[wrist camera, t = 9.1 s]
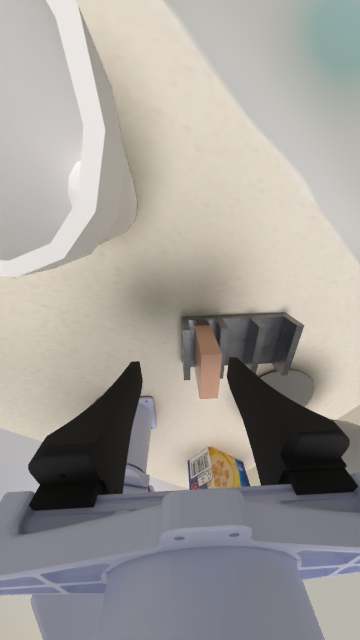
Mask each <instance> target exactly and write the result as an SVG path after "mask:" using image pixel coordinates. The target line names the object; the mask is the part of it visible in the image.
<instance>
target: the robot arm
mask: <svg viewBox="0 0 360 640" xmlns="http://www.w3.org/2000/svg"><path fill="white" fill-rule="evenodd" d="M227 379H228V383H229V386H230V389H231V392H232V394H233V397H234V399H235V402H236V404H237V407H238V409H239V411H240V414H241V416H242V419H243V422H244V425H245V428H246V431H247V435H248V438H249V441H250V445H251V448H252V452H253V456H254V459H255V463H256V467H257V471H258V475H259V479H260V483H261V486H248V487H231V488H213V489H196V490H179V491H163V492H155V491H154V488H153V486H151V485H149V476H150V475H148V474H146V467H147V459H148V450H149V442H150V434H151V429H155V428H156V427H157V424H156V417H155V410H154V403H153V398H151V397H142V398H140V395H141V389H142V382H143V380H142V374H141V368H140V362H139V361H137V362H131V363H130V364H129V366H128V367H127V368H126V369H125V371H124V372H123V373H122V374H121V376H120V377H119V378H118V379H117V380H116V382H115V383H114V384H113V385H112V386H111V387H110V388H109V389H108V390H107V391H106V392H105V393H104V394H103V395H102V396H101V397H100V398H99V399H98V400H96V401H95V403H94V404H92V405H91V406H90V407H89V408H87V409H86V410H85V411H84V412H82V413H81V414H80V415H78V416H77V417H76V418H74V419H73V420H71V421H70V422H69V423H67V424H66V425H64V426H62V427H61V428H59V429H58V430H56V431H55V432H53V433H51V434H50V435H48V436H47V437H46V438H45V440H44V441H43V443H42V444H41V446H40V448H39V449H38V450H37V452H36V454H35V455H34V457H33V458H32V460H31V461H30V463H29V465H28V466H29V467H28V469H29V471H30V473H31V475H32V476H33V477H34V478H35V479H36V481H37V482H38V483H39V484H40V486H39V488H38V489H37V491H36V493H34V492H31V491H24V492H23V491H21V492H8V493H6V494H5V495H4V496H3V498H2V500H1V501H0V596H1V595H27V594H28V595H29V594H32V597H31V605H32V609H33V611H34V614H35V617H36V620H37V623H38V626H39V629H40V632H41V634H42V637H43V640H324V637H323V634H322V631H321V629H320V626H319V624H318V621H317V618H316V616H315V613H314V610H313V608H312V605H311V602H310V600H309V597H308V594H307V592H306V589H305V586H304V584H303V581H302V580H308V579H315V578H323V577H330V576H338V575H344V574H353V573H360V472H357V473H353V474H351V475H350V474H349V473H348V472H347V470H346V469H345V468H346V467H347V465H346V463H345V462H344V461H343V459H342V458H341V457H342V456H343V454H344V453H345V452H346V450H347V449H348V447H349V445H350V439H349V438H348V436H347V435H346V434H345V433H344V432H343V431H342V430H341V428H340V427H339V426H338V425H337V424H336V423H335V422H334V421H332V420H330V419H328V418H326V417H324V416H322V415H319V414H317V413H315V412H313V411H311V410H309V409H307V408H305V407H303V406H301V405H300V404H298V403H296V402H294V401H293V400H291V399H289V398H288V397H286V396H284V395H283V394H281V393H280V392H278V391H277V390H275V389H274V388H272V387H271V386H270V385H268V384H267V383H266V382H264V381H263V380H262V379H261V378H259V377H258V376H257V375H256V374H255V373H254V372H252V371H251V370H250V369H249V368H248V367H247V366H246V365H245V364H244V363H243V362H242V361H241V360H239V359H238V358H237V357H229V364H228V372H227Z"/></svg>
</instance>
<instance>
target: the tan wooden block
mask: <svg viewBox="0 0 360 640" xmlns="http://www.w3.org/2000/svg"><path fill="white" fill-rule="evenodd" d="M221 362H222V352H221V350H220V348H219V345H218V343H217V340H216V338H215V336H214V333H213V331H212V329H211V326H210V325H198V326H194V366H195V373H196V379H197V385H198V391H199V397H200V399H209V398H218V391H219V381H220V371H221Z"/></svg>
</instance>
